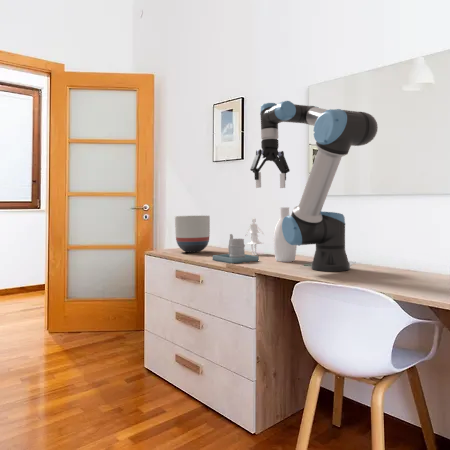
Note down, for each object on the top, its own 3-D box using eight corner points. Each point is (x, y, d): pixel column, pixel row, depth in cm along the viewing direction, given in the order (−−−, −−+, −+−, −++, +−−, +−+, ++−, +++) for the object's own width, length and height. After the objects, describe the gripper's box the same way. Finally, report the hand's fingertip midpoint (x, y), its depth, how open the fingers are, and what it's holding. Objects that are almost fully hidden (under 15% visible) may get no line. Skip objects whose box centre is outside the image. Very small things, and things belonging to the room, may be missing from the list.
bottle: (301, 261, 197) (300, 207, 196) (278, 262, 195) (277, 207, 193) (291, 258, 208) (290, 207, 207) (270, 260, 205) (269, 207, 204)
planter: (214, 250, 257) (213, 215, 256) (204, 254, 237) (204, 216, 236) (182, 250, 262) (181, 215, 261) (170, 254, 242) (169, 216, 241)
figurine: (251, 256, 223) (250, 218, 222) (240, 254, 230) (239, 218, 230) (270, 254, 230) (269, 217, 229) (259, 253, 238) (258, 217, 237)
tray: (258, 261, 202) (258, 256, 202) (232, 263, 194) (232, 258, 194) (237, 257, 217) (237, 253, 217) (212, 260, 209) (212, 255, 209)
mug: (234, 260, 198) (234, 235, 198) (222, 258, 209) (222, 234, 208) (248, 259, 202) (248, 234, 202) (236, 257, 212) (235, 233, 212)
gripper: (285, 142, 197) (286, 188, 197) (241, 138, 183) (242, 187, 184) (296, 140, 190) (297, 187, 191) (251, 136, 177) (253, 186, 177)
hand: (270, 187), depth 187 cm, fingers open, 13 cm apart
